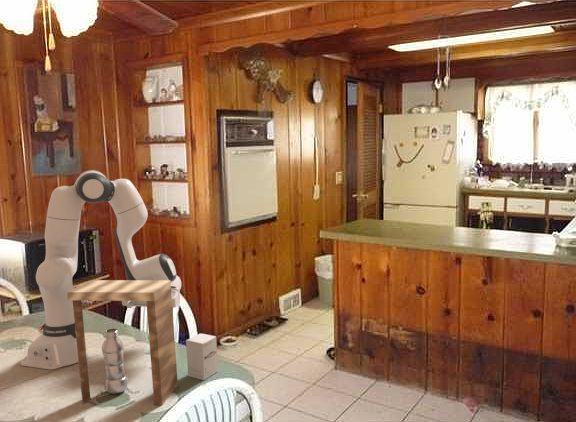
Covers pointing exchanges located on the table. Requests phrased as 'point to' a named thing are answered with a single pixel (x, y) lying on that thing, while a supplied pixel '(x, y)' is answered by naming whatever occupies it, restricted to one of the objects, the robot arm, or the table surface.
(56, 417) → the table surface
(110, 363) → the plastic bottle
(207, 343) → the supplement box
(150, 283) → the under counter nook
